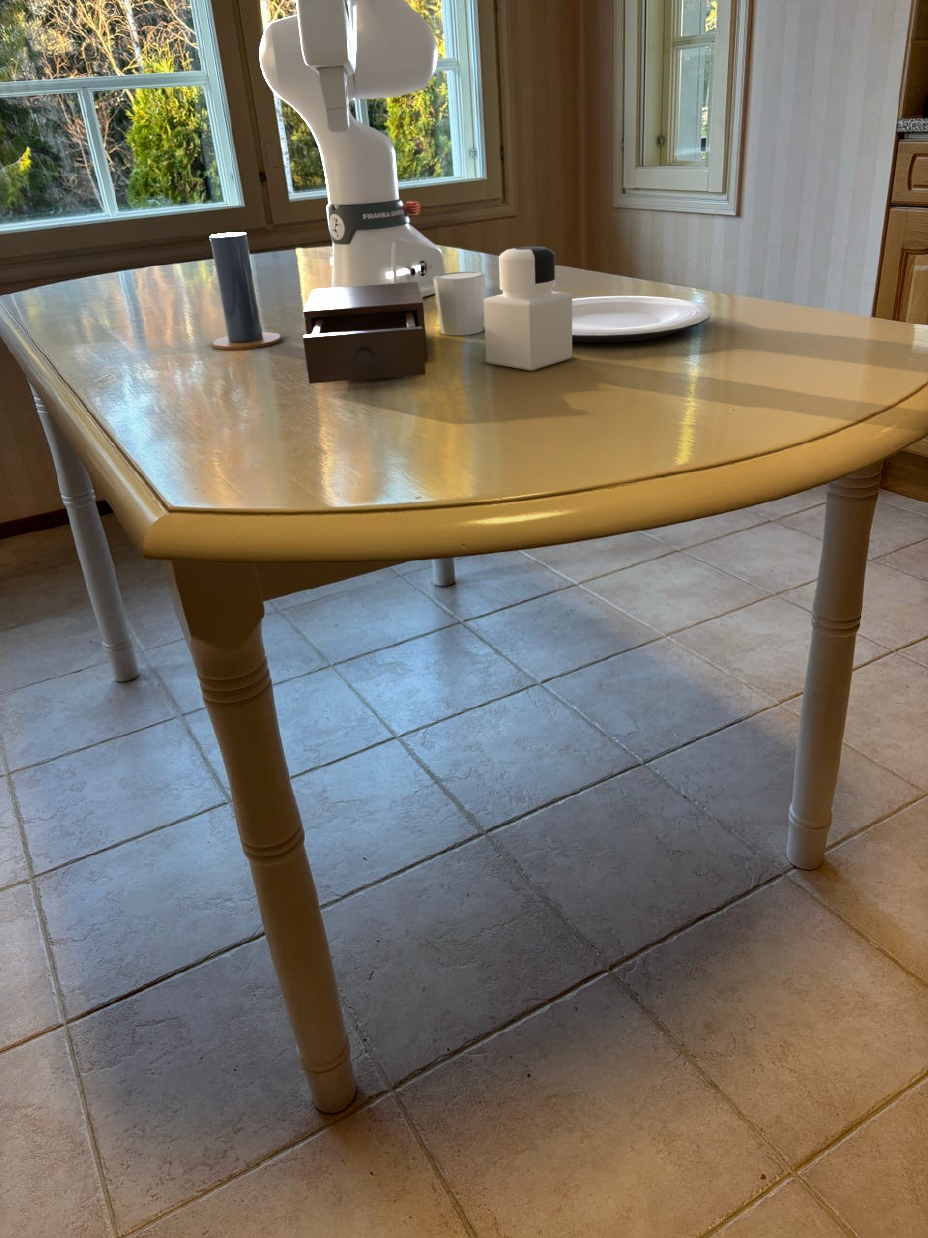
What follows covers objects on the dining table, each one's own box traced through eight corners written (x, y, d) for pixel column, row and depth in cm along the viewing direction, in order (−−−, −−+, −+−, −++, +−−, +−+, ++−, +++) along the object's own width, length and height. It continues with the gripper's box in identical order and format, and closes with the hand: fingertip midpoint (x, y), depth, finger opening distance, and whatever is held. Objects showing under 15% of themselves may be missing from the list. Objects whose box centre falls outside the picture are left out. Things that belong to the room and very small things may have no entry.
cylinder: (251, 334, 123) (233, 231, 117) (269, 337, 120) (253, 233, 114) (221, 340, 120) (202, 236, 114) (240, 344, 117) (221, 237, 111)
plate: (649, 302, 129) (650, 288, 128) (750, 333, 108) (752, 317, 107) (486, 323, 123) (485, 308, 122) (559, 359, 102) (559, 342, 101)
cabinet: (427, 361, 105) (423, 302, 102) (311, 369, 104) (303, 310, 101) (422, 334, 118) (418, 281, 115) (319, 341, 118) (312, 289, 115)
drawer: (426, 377, 94) (422, 330, 92) (308, 386, 94) (301, 339, 92) (420, 345, 108) (417, 304, 106) (317, 353, 108) (312, 312, 105)
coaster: (257, 332, 126) (256, 329, 126) (294, 339, 120) (293, 336, 120) (200, 344, 121) (200, 341, 120) (236, 352, 115) (236, 349, 115)
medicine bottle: (526, 351, 106) (524, 242, 101) (573, 358, 102) (573, 245, 96) (484, 363, 102) (479, 250, 96) (531, 371, 98) (529, 253, 92)
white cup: (482, 335, 115) (480, 278, 112) (431, 336, 117) (427, 280, 113) (492, 324, 121) (489, 270, 118) (442, 325, 123) (439, 271, 119)
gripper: (353, -89, 65) (373, 129, 72) (359, -42, 83) (375, 128, 89) (265, -84, 65) (294, 134, 71) (290, -38, 82) (311, 132, 89)
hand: (339, 131), depth 80 cm, fingers closed
